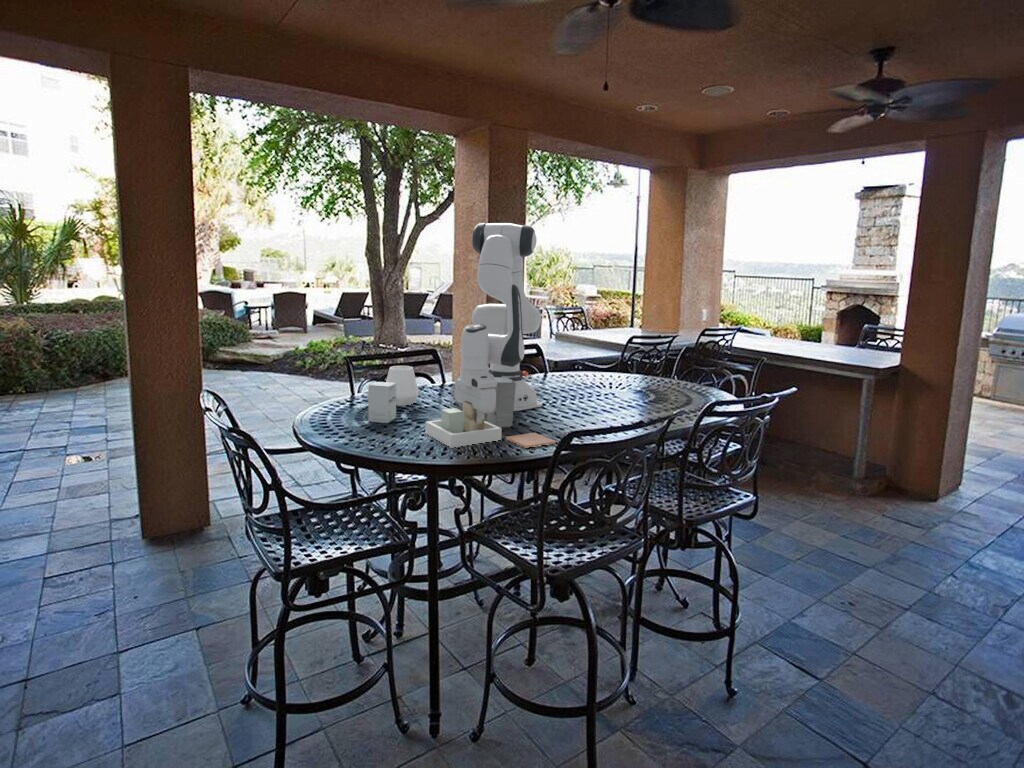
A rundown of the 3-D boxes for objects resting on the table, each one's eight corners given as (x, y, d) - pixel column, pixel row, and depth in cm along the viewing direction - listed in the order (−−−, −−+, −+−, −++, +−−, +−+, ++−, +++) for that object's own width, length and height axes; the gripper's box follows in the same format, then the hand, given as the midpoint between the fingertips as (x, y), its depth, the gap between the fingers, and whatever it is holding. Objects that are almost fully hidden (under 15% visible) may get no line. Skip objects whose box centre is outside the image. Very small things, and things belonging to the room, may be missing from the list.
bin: (473, 427, 206) (473, 415, 206) (501, 440, 192) (501, 428, 191) (425, 433, 197) (425, 421, 196) (451, 448, 183) (451, 435, 182)
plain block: (455, 435, 196) (455, 408, 194) (463, 439, 192) (463, 411, 190) (441, 437, 193) (441, 409, 191) (448, 442, 189) (449, 413, 187)
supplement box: (388, 423, 208) (388, 386, 205) (367, 421, 209) (367, 384, 207) (396, 418, 215) (396, 382, 213) (376, 416, 216) (376, 381, 214)
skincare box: (486, 422, 214) (487, 377, 211) (505, 421, 217) (506, 376, 214) (495, 428, 206) (496, 381, 203) (515, 427, 209) (516, 380, 206)
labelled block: (476, 427, 200) (476, 399, 198) (483, 431, 196) (484, 402, 194) (462, 429, 197) (462, 400, 195) (470, 433, 193) (470, 403, 191)
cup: (405, 398, 247) (405, 363, 245) (426, 404, 238) (426, 368, 236) (376, 402, 238) (376, 366, 235) (397, 409, 229) (397, 371, 226)
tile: (534, 435, 199) (534, 432, 199) (555, 444, 190) (555, 441, 190) (505, 439, 193) (505, 436, 193) (525, 449, 184) (526, 445, 184)
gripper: (449, 372, 200) (449, 414, 203) (481, 384, 183) (480, 429, 186) (466, 370, 203) (466, 411, 206) (500, 382, 187) (498, 427, 189)
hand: (473, 420), depth 196 cm, fingers closed on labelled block, 5 cm apart
